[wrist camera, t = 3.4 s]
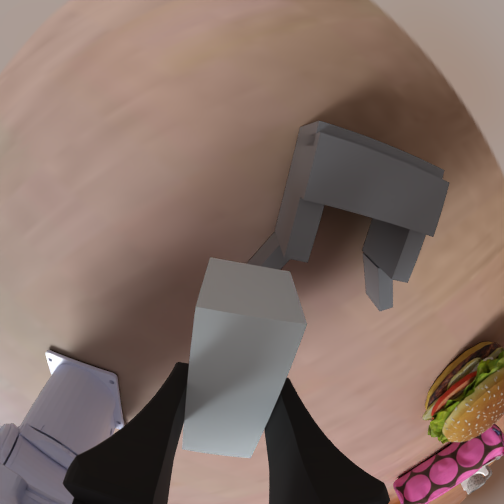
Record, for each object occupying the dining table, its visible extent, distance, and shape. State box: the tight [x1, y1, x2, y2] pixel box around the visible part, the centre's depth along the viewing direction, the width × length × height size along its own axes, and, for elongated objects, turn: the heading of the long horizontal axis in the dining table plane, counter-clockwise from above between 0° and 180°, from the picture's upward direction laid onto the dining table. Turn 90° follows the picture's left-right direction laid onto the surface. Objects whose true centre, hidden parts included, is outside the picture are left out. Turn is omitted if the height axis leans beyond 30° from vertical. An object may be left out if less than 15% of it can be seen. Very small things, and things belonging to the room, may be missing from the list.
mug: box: [466, 465, 492, 494], centre depth 43 cm, size 10×7×7 cm
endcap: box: [247, 121, 449, 311], centre depth 15 cm, size 10×10×5 cm
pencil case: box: [393, 424, 504, 504], centre depth 28 cm, size 21×10×10 cm, turn 139°
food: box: [423, 341, 504, 444], centre depth 21 cm, size 14×14×8 cm
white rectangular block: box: [182, 257, 307, 458], centre depth 12 cm, size 9×4×4 cm, turn 169°
